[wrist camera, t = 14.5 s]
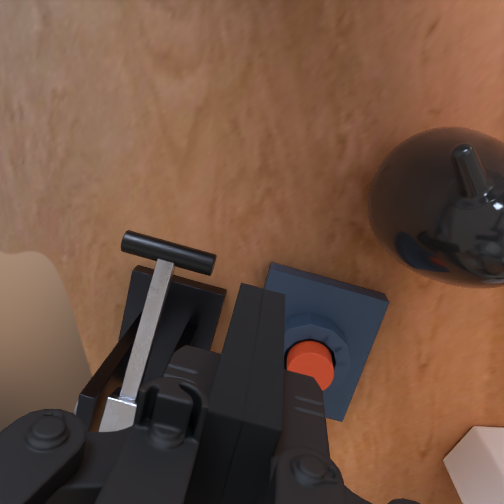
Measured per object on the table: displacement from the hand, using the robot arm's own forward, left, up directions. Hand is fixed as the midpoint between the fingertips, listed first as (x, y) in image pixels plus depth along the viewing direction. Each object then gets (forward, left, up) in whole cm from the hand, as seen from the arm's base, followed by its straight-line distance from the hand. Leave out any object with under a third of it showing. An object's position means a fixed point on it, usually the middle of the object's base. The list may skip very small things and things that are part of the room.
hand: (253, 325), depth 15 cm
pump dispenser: (-4, +11, -23) cm, 26 cm away
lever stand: (+14, -6, -23) cm, 27 cm away
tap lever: (+9, -6, -13) cm, 17 cm away
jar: (+18, +26, -23) cm, 39 cm away
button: (+11, +6, -19) cm, 23 cm away
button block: (+11, +6, -23) cm, 26 cm away
